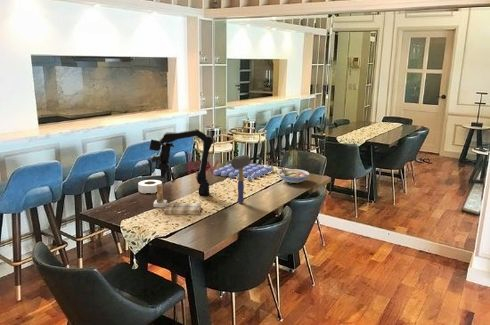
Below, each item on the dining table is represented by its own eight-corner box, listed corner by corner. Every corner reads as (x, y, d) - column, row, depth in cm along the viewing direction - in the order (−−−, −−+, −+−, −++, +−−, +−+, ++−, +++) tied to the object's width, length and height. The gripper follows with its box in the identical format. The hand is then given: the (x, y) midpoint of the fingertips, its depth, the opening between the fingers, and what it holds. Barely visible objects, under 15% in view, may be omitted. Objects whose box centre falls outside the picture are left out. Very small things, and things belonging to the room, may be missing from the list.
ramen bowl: (311, 187, 282) (311, 176, 280) (278, 187, 282) (279, 176, 280) (306, 178, 306) (307, 167, 304) (276, 177, 306) (277, 167, 305)
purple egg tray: (272, 172, 323) (272, 166, 322) (250, 182, 295) (250, 176, 294) (236, 167, 341) (236, 161, 340) (212, 175, 313) (212, 169, 312)
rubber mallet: (240, 206, 242) (240, 158, 235) (230, 204, 246) (229, 157, 239) (251, 201, 252) (251, 154, 245) (241, 199, 256) (241, 153, 249)
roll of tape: (152, 185, 285) (151, 178, 283) (166, 190, 275) (166, 182, 274) (133, 190, 273) (133, 182, 272) (148, 195, 263) (147, 187, 262)
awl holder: (167, 203, 247) (167, 199, 246) (165, 207, 240) (164, 203, 239) (155, 203, 246) (155, 199, 246) (153, 207, 240) (153, 203, 239)
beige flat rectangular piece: (201, 207, 241) (200, 203, 240) (199, 214, 229) (198, 210, 228) (167, 207, 240) (167, 203, 240) (164, 214, 229) (163, 210, 228)
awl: (164, 204, 245) (163, 183, 242) (163, 206, 241) (162, 185, 238) (157, 204, 245) (156, 183, 242) (156, 206, 241) (155, 185, 238)
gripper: (152, 147, 260) (149, 170, 263) (152, 153, 243) (148, 178, 246) (170, 150, 263) (166, 172, 266) (170, 156, 245) (166, 180, 248)
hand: (161, 175), depth 256 cm, fingers open, 9 cm apart
